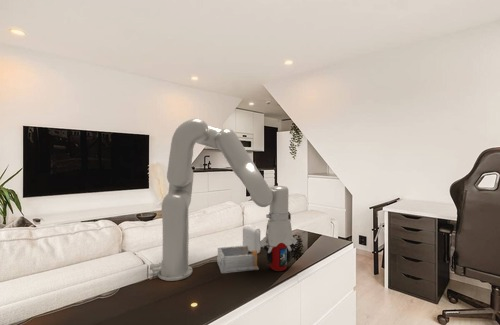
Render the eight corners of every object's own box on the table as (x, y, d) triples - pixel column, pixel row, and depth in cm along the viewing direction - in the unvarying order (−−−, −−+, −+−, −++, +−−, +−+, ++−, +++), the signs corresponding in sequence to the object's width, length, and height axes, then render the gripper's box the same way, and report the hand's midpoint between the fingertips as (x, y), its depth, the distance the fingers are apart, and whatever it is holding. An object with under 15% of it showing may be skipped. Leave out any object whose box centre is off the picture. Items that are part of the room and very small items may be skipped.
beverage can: (286, 273, 100) (286, 242, 100) (268, 271, 101) (269, 240, 101) (287, 266, 106) (287, 237, 106) (271, 264, 108) (271, 236, 108)
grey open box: (221, 273, 99) (221, 255, 99) (216, 259, 112) (216, 243, 112) (258, 269, 103) (258, 251, 102) (249, 256, 116) (249, 241, 116)
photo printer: (241, 248, 127) (241, 223, 127) (248, 246, 130) (248, 222, 130) (254, 254, 119) (255, 227, 119) (261, 252, 122) (261, 226, 122)
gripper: (261, 220, 98) (260, 266, 98) (302, 217, 102) (302, 262, 102) (255, 215, 105) (255, 259, 105) (294, 213, 109) (294, 255, 110)
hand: (278, 260), depth 104 cm, fingers closed on beverage can, 6 cm apart
